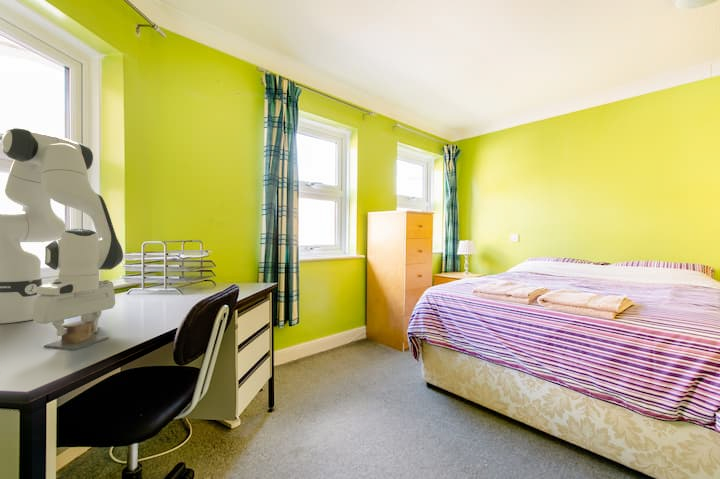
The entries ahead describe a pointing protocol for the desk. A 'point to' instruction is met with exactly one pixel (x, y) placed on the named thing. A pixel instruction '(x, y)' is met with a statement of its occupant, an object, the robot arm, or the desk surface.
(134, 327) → the desk surface
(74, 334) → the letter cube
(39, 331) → the desk surface
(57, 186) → the robot arm
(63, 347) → the slate pad
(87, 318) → the white rounded upright block
